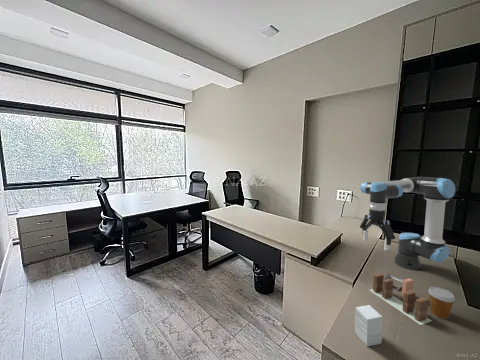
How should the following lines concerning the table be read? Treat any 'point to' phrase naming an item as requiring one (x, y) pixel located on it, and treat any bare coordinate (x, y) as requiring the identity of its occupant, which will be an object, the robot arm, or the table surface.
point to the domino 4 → (408, 301)
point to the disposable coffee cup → (441, 302)
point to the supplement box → (368, 325)
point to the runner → (400, 307)
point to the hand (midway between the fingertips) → (375, 245)
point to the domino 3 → (407, 285)
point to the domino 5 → (421, 309)
